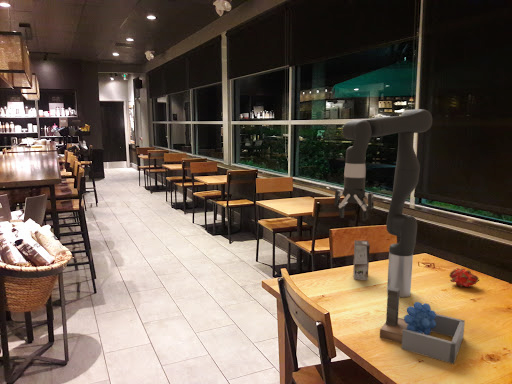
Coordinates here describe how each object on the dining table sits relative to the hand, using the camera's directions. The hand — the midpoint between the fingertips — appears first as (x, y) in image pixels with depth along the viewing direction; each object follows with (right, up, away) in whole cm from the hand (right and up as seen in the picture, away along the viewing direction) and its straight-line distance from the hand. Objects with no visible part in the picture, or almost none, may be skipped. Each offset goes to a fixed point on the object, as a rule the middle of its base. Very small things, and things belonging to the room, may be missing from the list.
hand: (352, 219), depth 151 cm
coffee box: (+12, -29, +37) cm, 49 cm away
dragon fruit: (+55, -31, +27) cm, 68 cm away
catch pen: (+20, -38, -22) cm, 48 cm away
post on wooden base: (+11, -37, -16) cm, 42 cm away
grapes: (+18, -38, -19) cm, 46 cm away
